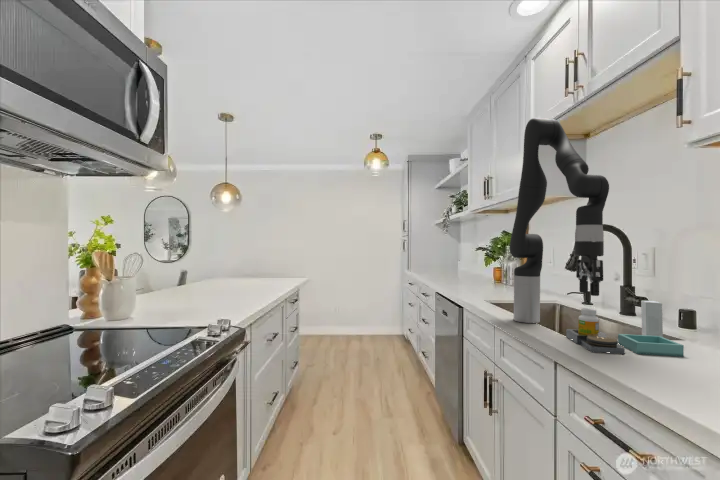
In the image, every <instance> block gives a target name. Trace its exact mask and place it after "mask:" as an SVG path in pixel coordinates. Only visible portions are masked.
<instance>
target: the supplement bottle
mask: <svg viewBox="0 0 720 480" xmlns="http://www.w3.org/2000/svg"><path fill="white" fill-rule="evenodd" d="M580 309H581V310H580V313H581V315H579V316H578V323H577V324H578V327H577V328H578V329H577V330H578V334H580V335H588V334H598V332H599V331H600V319H599V317H598V316H597V309H595V308H590V307H581V308H580Z"/></svg>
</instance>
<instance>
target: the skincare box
mask: <svg viewBox="0 0 720 480" xmlns="http://www.w3.org/2000/svg"><path fill="white" fill-rule="evenodd" d="M640 304H641V305H640V308H641V310H640V311H641V312H640V313H641V335H649V336H661V337H664V332H663V328H664V326H663V303H662V302H659V301H657V300H641V301H640Z"/></svg>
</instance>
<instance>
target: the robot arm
mask: <svg viewBox="0 0 720 480" xmlns="http://www.w3.org/2000/svg"><path fill="white" fill-rule="evenodd" d="M540 146H549V147H551V148H553V149H554V150H555V157H554V159H555V160H554V161H555V164H556V167H557V168H558V169H559V171H560V172H561V174H563V176H564V177H565V181H566V184H567V187H568V190H569V192H570V193H571V194H572V195H573V196H574V197H576V198H583V199H588V201H587V203H586V205H581V206H579V207H577V209H576V212H575V231H574V255H575V256H576V257H581V258H578V259H576V272H575V273H576V274H575V275H576V276H575V277H576V278H577V279H578V281H579V290H578V291H579V292H580V293H581V294H583V293H585V294H587V293H588V292H589V294H590V296H593V297H598V296H600V284H601V282H603V281H604V260H603V259H598V257H603V256H604V255H605V254H604V252H605V251H604V249H605V247H604V246H605V245H604V242H605V241H604V240H605V239H604V237H605V235H604V227H603V225H604V223H603V222H604V221H603V219H604V218H603V217H604V216H603V214H604V210H605V209H604V208H605V206H606V202H607V198H608V196H609V192H610V183H609V181H608V179H607V177H605V176H604V175H600V174H588V173H589V169H590V168H589V165H588V164H587V162H586V160H584V159H583V158H582V157H581V155H580V154H579V153H578V152H577V151H576V150H575V148H574V146H573V145H572V142H571V141H570V139H569V137H568V136H567V134H566V131H565V129H564V127H563V126H562V124H561V123H560V122H559V121H558V120H557V119H553V118H545V117H544V118H542V117H532V118H531V119H529V120H528V122H527V124H526V126H525V130H524V136H523V156H522V159H523V160H522V168H521V175H520V181H519V188H518V195H517V196H518V197H517V205H516V211H515V212H516V213H515V219H514V223H513V227H512V231H511V236H510V240H509V252H510V255H511V256H512V257H513V258H517V259H526V261H525V263H523V264H522V265H520V266H517V267H515V268H514V272H513V321H515V322H520V323H527V324H538V323H540V321H541V320H540V319H541V316H540V315H541V273H542V269H543V259H544V258H543V256H544V241H543V238H542V236H540V235H539V234H537V233H527V230H528V226H529V224H530V221H531V220H532V218H533V217H534V216H535V214H536V213H537V212H538V211H539V210H540V208H541V207H542V206H543V204H544V202H545V200H546V196H547V188H548V181H547V177H546V174H545V172H544V170H543V168H542V166H541V163H540V159H539V149H540ZM589 282H590V283H589Z"/></svg>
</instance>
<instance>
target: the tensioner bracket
mask: <svg viewBox="0 0 720 480" xmlns="http://www.w3.org/2000/svg"><path fill="white" fill-rule="evenodd" d="M565 330H566V331H565V332H566V334H565V335H566V338H567V339H569V340H570V339H573V340H571V341H572V342H573V343H575V344H576V345H580V346H581V347H583V348H584V349H586V350H588V351H589V352H591V353H596V352H610V353H609V354H613V353H620V354H619V355H625V353H626V352H625V350H626V348H625V347H623V346H621V345H619V344H618V337H615V336H613V335H608V334H607V333H606V332H603V331H600V330H599V332H598V334H588V335H580V334H578V329H572V328H566V329H565Z"/></svg>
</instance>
